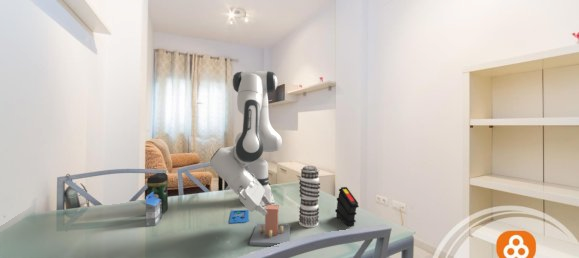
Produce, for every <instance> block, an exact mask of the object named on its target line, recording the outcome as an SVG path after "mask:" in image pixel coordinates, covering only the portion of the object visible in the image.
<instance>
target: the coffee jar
mask: <svg viewBox="0 0 579 258" xmlns="http://www.w3.org/2000/svg"><path fill="white" fill-rule="evenodd" d="M168 178H169V176H168V174H167V173H166V172H156V173H154V174H153V175H149V176H148V177H147V179H146V185H147V186H146V187H147V196H148V195H149V194H150V193H152V192H153V191H154V194H153V197H155V198H158V199H161V200H162V215H163V214H165V212H167V211H168V209H169V200H168V199H169V197H168V196H169V195H168V185H169V183H168V182H169V179H168ZM150 197H151V196H149V198H150ZM149 198H148V199H149Z"/></svg>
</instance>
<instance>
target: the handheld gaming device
mask: <svg viewBox="0 0 579 258" xmlns="http://www.w3.org/2000/svg"><path fill="white" fill-rule="evenodd" d="M249 212H250V211H249V210H248V209H236V210H235V209H233V210H231V212H230V216H229V220H228V224H229V225H230V224H231V225H233V224H234V225H235V224H246V223H248V222H249V219H250V218H249V216H250V213H249Z"/></svg>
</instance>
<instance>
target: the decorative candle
mask: <svg viewBox="0 0 579 258" xmlns="http://www.w3.org/2000/svg"><path fill="white" fill-rule="evenodd" d="M300 171H301V173H300V174H301V176H300V178H299V182H298V184H299V190H298V192H299V193H300V194H299V198H300V203H299V204H300V205H299V212H298V213H299V215H298V216H299V218H298V220H299V222H298V223H299V225H300V226H301V227H305V228H316V227H318V226H319V221H320V220H319V218H320V216H319V213H320V211H319V210H320V208H319V202H318V201H319V198H320V191H319V189H321V187H320V185H321V183H320V177H319V171H320V169H318V167H317V166H313V165H305V166H303V167H302V169H300Z"/></svg>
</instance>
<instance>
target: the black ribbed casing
mask: <svg viewBox="0 0 579 258" xmlns="http://www.w3.org/2000/svg"><path fill="white" fill-rule="evenodd" d="M338 191H339V193H338V197H336V201H337V202H336V209H335V214H336V219H338V220H340V221H341V222H342V223H344V224H345V225H347V227H349V226H351V227H352V226H355V223H356V222H357V221H356V220H355V218H356V217H355V216H356V215H357V212H356V211H357V208H359V206H360V205H359V202H358V201H357V199H356V198H355V196H354V195H353V194H352V193H351V191H350V190H349V188H348V187H347V186H341V187H340V188H338Z"/></svg>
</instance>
